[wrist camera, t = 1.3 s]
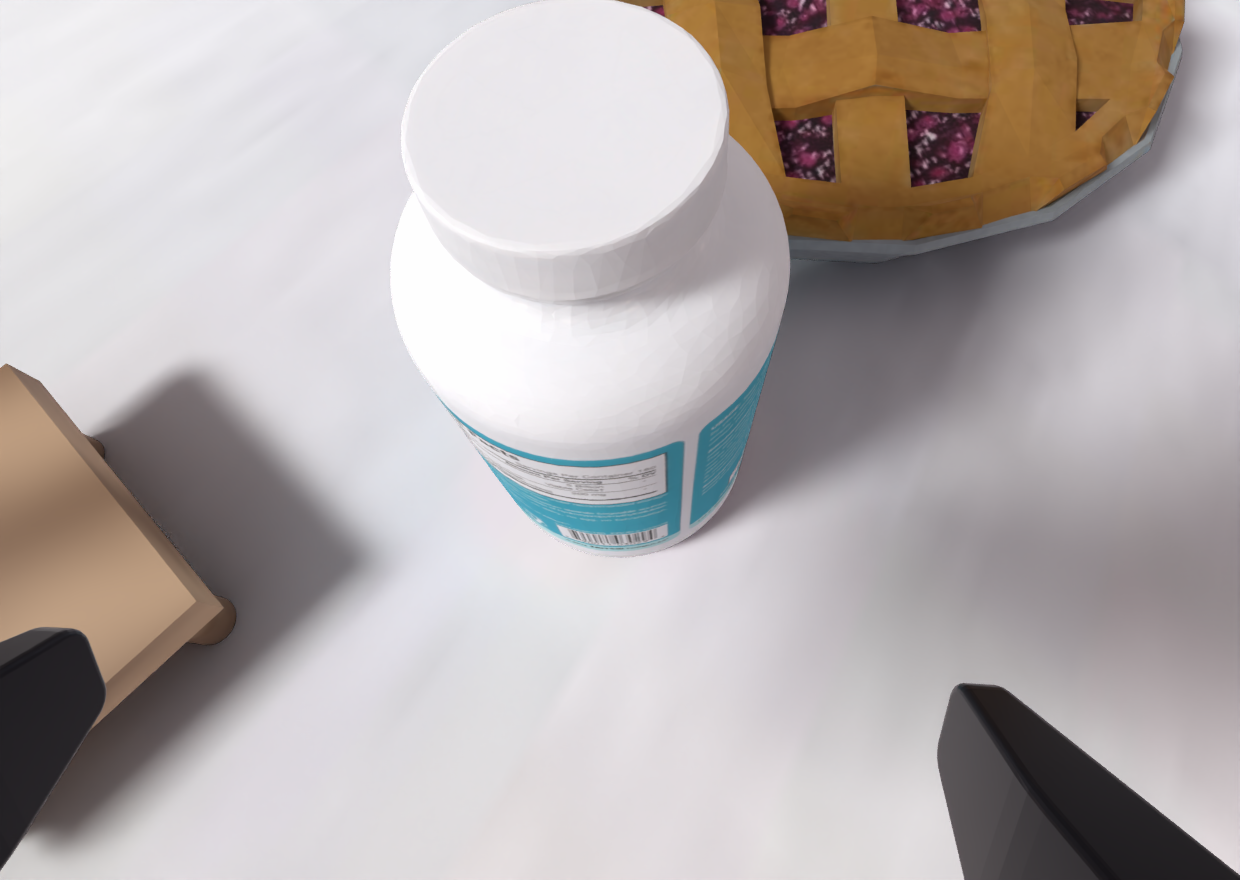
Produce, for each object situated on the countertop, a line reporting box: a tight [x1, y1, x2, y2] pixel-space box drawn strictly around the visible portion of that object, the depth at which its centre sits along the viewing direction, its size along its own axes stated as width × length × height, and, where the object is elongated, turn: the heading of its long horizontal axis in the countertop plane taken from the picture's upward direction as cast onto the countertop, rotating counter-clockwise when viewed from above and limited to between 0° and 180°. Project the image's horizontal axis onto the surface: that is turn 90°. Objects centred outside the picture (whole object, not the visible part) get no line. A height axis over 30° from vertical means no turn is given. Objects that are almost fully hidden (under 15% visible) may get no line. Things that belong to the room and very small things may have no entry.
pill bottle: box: [390, 0, 790, 558], centre depth 16 cm, size 8×7×14 cm
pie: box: [616, 0, 1185, 263], centre depth 26 cm, size 22×22×5 cm
